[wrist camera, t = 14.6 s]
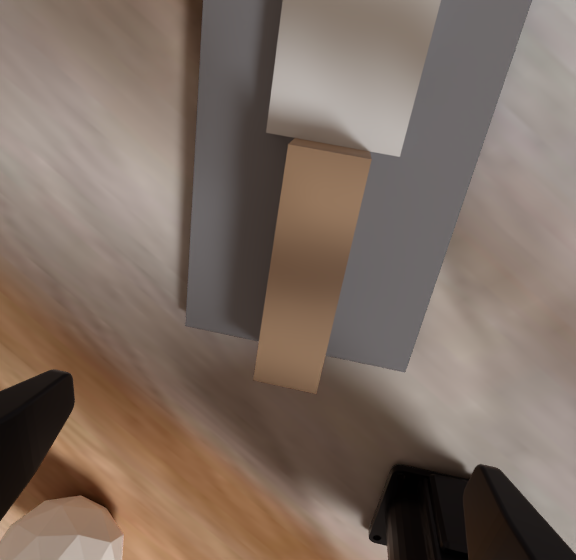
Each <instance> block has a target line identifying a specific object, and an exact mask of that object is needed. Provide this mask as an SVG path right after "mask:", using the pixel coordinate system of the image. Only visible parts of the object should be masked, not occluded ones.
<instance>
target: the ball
mask: <svg viewBox="0 0 576 560" xmlns="http://www.w3.org/2000/svg"><path fill="white" fill-rule="evenodd" d="M123 538H124V534H123V532H122V531H121V529H120V528H119V526H118V525H117V523H116V522H115V520H114V519H113V517H112V516H111V514H110V513H109V511H108V510H107V508H105V507H103V506H101V505H99V504H97V503H95V502H93V501H91V500H89V499H87V498H85V497H83V496H81V495H80V496H73V497H66V498H59V499H53V500H46V501H44V502H42V503H41V504H40V505H38V506H37V507H35V508H34V509H33V510H31V511H30V512H28V513H27V514H26V515H24V516H23V517H22V518H20V519H19V520H17V521H16V522H15V523H13V524H12V525H11V526H10V527H9V529H8V530H7V532H6V533H5V535H4V536H3V538H2V539H1V541H0V560H122V555H123Z"/></svg>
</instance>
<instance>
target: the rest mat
mask: <svg viewBox="0 0 576 560" xmlns="http://www.w3.org/2000/svg"><path fill="white" fill-rule="evenodd" d="M282 2H283V0H203V12H202V30H201V49H200V67H199V85H198V104H197V122H196V141H195V159H194V178H193V196H192V214H191V233H190V251H189V270H188V288H187V307H186V325H185V326H188V327H193V328H198V329H202V330H207V331H212V332H217V333H221V334H226V335H231V336H235V337H240V338H245V339H250V340H254V341H259V337H260V330H261V324H262V317H263V310H264V304H265V297H266V290H267V283H268V277H269V270H270V263H271V257H272V250H273V243H274V236H275V230H276V223H277V216H278V209H279V203H280V196H281V189H282V183H283V176H284V169H285V162H286V156H287V149H288V144H289V143H290V142H291V141H292V140H293V139H294V138H293V137H288V136H282V135H277V134H271V133H266V129H267V121H268V113H269V105H270V97H271V89H272V82H273V74H274V66H275V58H276V50H277V42H278V34H279V26H280V18H281V10H282ZM531 2H532V0H441V3H440V6H439V10H438V14H437V18H436V22H435V25H434V29H433V33H432V37H431V41H430V44H429V48H428V52H427V56H426V59H425V63H424V67H423V71H422V75H421V78H420V82H419V86H418V90H417V94H416V97H415V101H414V105H413V109H412V113H411V116H410V120H409V124H408V128H407V132H406V135H405V139H404V143H403V147H402V151H401V154H400V157H398V156H392V155H387V154H381V153H376V152H370V154H371V159H372V160H371V164H370V169H369V173H368V177H367V181H366V186H365V190H364V194H363V198H362V203H361V207H360V211H359V215H358V220H357V224H356V228H355V232H354V237H353V241H352V245H351V249H350V254H349V258H348V262H347V266H346V271H345V275H344V279H343V283H342V288H341V292H340V296H339V300H338V305H337V309H336V313H335V317H334V321H333V326H332V330H331V334H330V338H329V343H328V347H327V351H326V355H325V356H330V357H335V358H340V359H344V360H349V361H354V362H359V363H363V364H368V365H373V366H378V367H382V368H387V369H392V370H397V371H401V372H406V369H407V366H408V363H409V360H410V357H411V354H412V351H413V348H414V345H415V342H416V339H417V336H418V333H419V331H420V328H421V325H422V322H423V319H424V316H425V313H426V310H427V307H428V304H429V301H430V298H431V295H432V292H433V289H434V286H435V284H436V281H437V278H438V275H439V272H440V269H441V266H442V263H443V260H444V257H445V254H446V251H447V248H448V245H449V242H450V240H451V237H452V234H453V231H454V228H455V225H456V222H457V219H458V216H459V213H460V210H461V207H462V204H463V201H464V198H465V195H466V193H467V190H468V187H469V184H470V181H471V178H472V175H473V172H474V169H475V166H476V163H477V160H478V157H479V154H480V151H481V149H482V146H483V143H484V140H485V137H486V134H487V131H488V128H489V125H490V122H491V119H492V116H493V113H494V110H495V107H496V104H497V102H498V99H499V96H500V93H501V90H502V87H503V84H504V81H505V78H506V75H507V72H508V69H509V66H510V63H511V60H512V58H513V55H514V52H515V49H516V46H517V43H518V40H519V37H520V34H521V31H522V28H523V25H524V22H525V19H526V16H527V14H528V11H529V8H530V5H531Z"/></svg>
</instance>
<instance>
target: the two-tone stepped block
mask: <svg viewBox="0 0 576 560" xmlns="http://www.w3.org/2000/svg"><path fill="white" fill-rule="evenodd" d="M440 3H441V0H283V2H282V10H281V18H280V26H279V34H278V42H277V50H276V58H275V66H274V74H273V82H272V89H271V97H270V105H269V113H268V121H267V129H266V133H271V134H277V135H282V136H288V137H293V138H294V139H293V140H292V141H291V142H290V143H289V144H288V149H287V156H286V162H285V169H284V176H283V183H282V189H281V196H280V203H279V209H278V216H277V223H276V230H275V236H274V243H273V250H272V257H271V263H270V270H269V277H268V283H267V290H266V297H265V304H264V310H263V317H262V324H261V330H260V337H259V344H258V351H257V357H256V364H255V371H254V377H253V380H254V381H258V382H263V383H268V384H272V385H277V386H281V387H286V388H290V389H295V390H299V391H304V392H309V393H313V394H317V389H318V385H319V381H320V377H321V372H322V368H323V364H324V360H325V355H326V351H327V347H328V343H329V338H330V334H331V330H332V326H333V321H334V317H335V313H336V309H337V305H338V300H339V296H340V292H341V288H342V283H343V279H344V275H345V271H346V266H347V262H348V258H349V254H350V249H351V245H352V241H353V237H354V232H355V228H356V224H357V220H358V215H359V211H360V207H361V203H362V198H363V194H364V190H365V186H366V181H367V177H368V173H369V169H370V164H371V160H372V159H371V154H370V152H376V153H381V154H387V155H392V156H398V157H400V154H401V151H402V147H403V143H404V139H405V135H406V132H407V128H408V124H409V120H410V116H411V113H412V109H413V105H414V101H415V97H416V94H417V90H418V86H419V82H420V78H421V75H422V71H423V67H424V63H425V59H426V56H427V52H428V48H429V44H430V41H431V37H432V33H433V29H434V25H435V22H436V18H437V14H438V10H439V6H440Z"/></svg>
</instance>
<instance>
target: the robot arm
mask: <svg viewBox="0 0 576 560" xmlns="http://www.w3.org/2000/svg"><path fill="white" fill-rule="evenodd" d="M74 402H75V398H74V387H73V378H72V375H71V374H70V373H68V372H64V371H60V370H49V371H47V372H44V373H42V374H40V375H37V376H35V377H33V378H30V379H28V380H26V381H23V382H21V383H19V384H16V385H14V386H11V387H9V388H7V389H4V390H2V391H0V521H1V520H2V518H3V517H4V515H5V514H6V513H7V511H8V510H9V509H10V507H11V506H12V505H13V503H14V502H15V500H16V499H17V498H18V496H19V495H20V494H21V492H22V491H23V489H24V488H25V487H26V485H27V484H28V483H29V481H30V480H31V478H32V477H33V475H34V474H35V472H36V471H37V469H38V468H39V466H40V464H41V463H42V461H43V459H44V458H45V456H46V454H47V453H48V451H49V449H50V448H51V446H52V444H53V442H54V441H55V439H56V437H57V436H58V434H59V432H60V431H61V429H62V427H63V426H64V424H65V422H66V420H67V419H68V417H69V415H70V414H71V412H72V410H73V407H74ZM369 539H370V540H371V541H372V542H374V543H378V544H382V545H386V546H387V550H388V560H576V554H575V553H574V552H573V551H572V550H571V549H570V547H569V546H568V545H567V544H566V543H565V542H564V541H563V540H562V538H561V537H560V536H559V535H558V534H557V533H556V532H555V531H554V529H553V528H552V527H551V526H550V525H549V524H548V523H547V522H546V520H545V519H544V518H543V517H542V516H541V515H540V514H539V513H538V512H537V510H536V509H535V508H534V507H533V506H532V505H531V504H530V503H529V501H528V500H527V499H526V498H525V497H524V496H523V495H522V494H521V492H520V491H519V490H518V489H517V488H516V487H515V486H514V485H513V483H512V482H511V481H510V480H509V479H508V478H507V477H506V476H505V474H504V473H503V472H502V471H501V470H500V469H498V468H496V467H491V466H487V465H482V464H479V465H477V466H476V467H475V469H474V471H473V473H472V475H471V477H470V479H469V480H467V479H463V478H458V477H454V476H450V475H445V474H441V473H436V472H432V471H427V470H423V469H418V468H414V467H410V466H405V465H395V466H393V467H392V469H391V471H390V474H389V477H388V479H387V482H386V485H385V487H384V490H383V493H382V496H381V498H380V501H379V504H378V506H377V509H376V512H375V515H374V517H373V520H372V523H371V525H370V528H369Z"/></svg>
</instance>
